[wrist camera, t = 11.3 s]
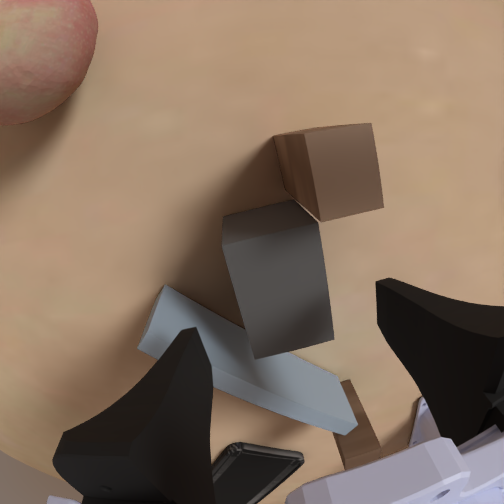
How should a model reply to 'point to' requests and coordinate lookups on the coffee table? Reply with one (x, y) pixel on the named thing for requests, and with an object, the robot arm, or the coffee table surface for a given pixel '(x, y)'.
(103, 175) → the coffee table surface
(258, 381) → the door
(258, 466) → the phone
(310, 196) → the door frame
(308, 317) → the block
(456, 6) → the coffee table surface
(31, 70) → the apple
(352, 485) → the robot arm
